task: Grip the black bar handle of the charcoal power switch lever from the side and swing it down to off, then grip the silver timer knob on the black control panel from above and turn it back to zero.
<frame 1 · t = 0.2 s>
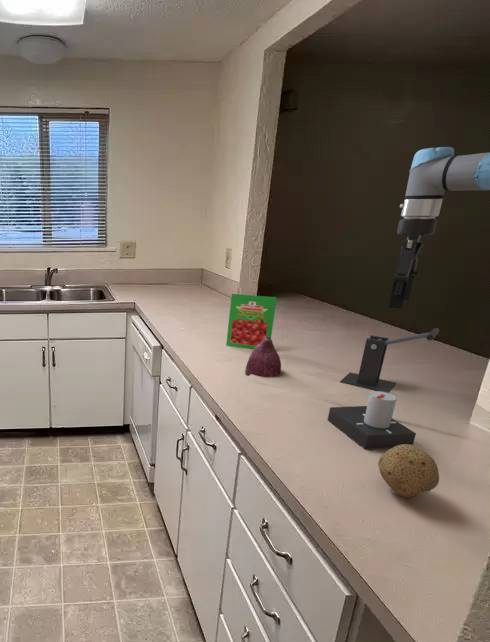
hand: (398, 303, 114), 26 cm above the countertop, tool pointing down, fingers open, 13 cm apart
tomato puree packet: (247, 348, 162), on the countertop
switch lever: (402, 339, 118), point 16 cm above the countertop, hinge at 25.0°
timer knob: (380, 409, 98), point 7 cm above the countertop, hinge at 120.0°
vegetable: (262, 375, 137), on the countertop
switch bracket: (366, 386, 128), on the countertop
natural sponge: (399, 493, 81), on the countertop
timer panel: (367, 432, 102), on the countertop
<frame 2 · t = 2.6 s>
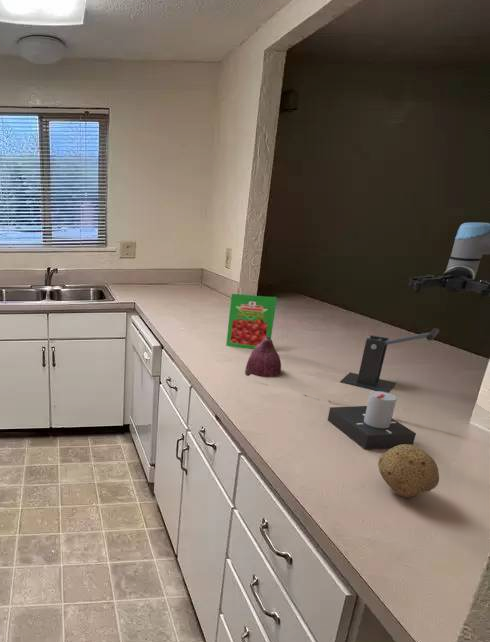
hand: (449, 291, 118), 28 cm above the countertop, tool horizontal, fingers open, 13 cm apart
nothing on the countertop moved.
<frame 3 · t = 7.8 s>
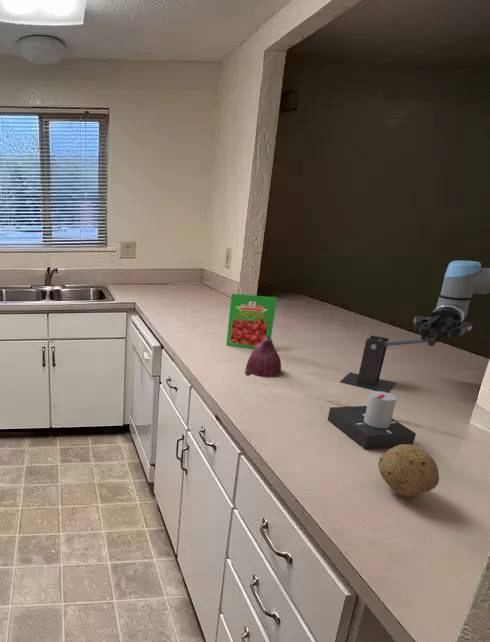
hand: (431, 335, 112), 19 cm above the countertop, tool horizontal, fingers closed on switch lever, 2 cm apart
switch lever: (402, 342, 118), point 15 cm above the countertop, hinge at 18.3°, touching gripper
everything else where it was.
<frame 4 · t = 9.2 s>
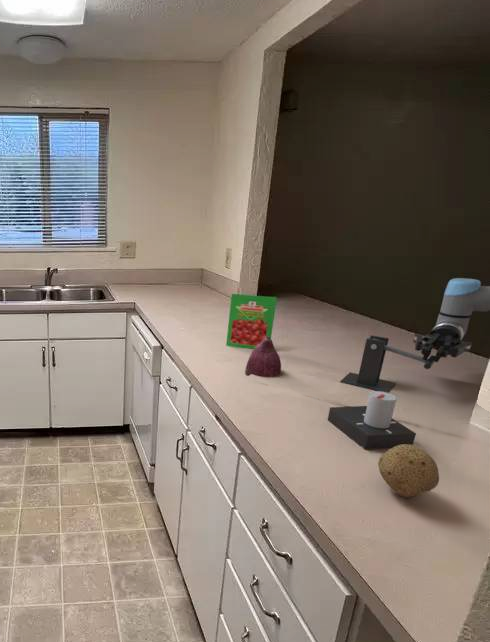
hand: (431, 356, 113), 13 cm above the countertop, tool horizontal, fingers closed
switch lever: (401, 352, 119), point 12 cm above the countertop, hinge at -9.3°, touching gripper
everything else where it was.
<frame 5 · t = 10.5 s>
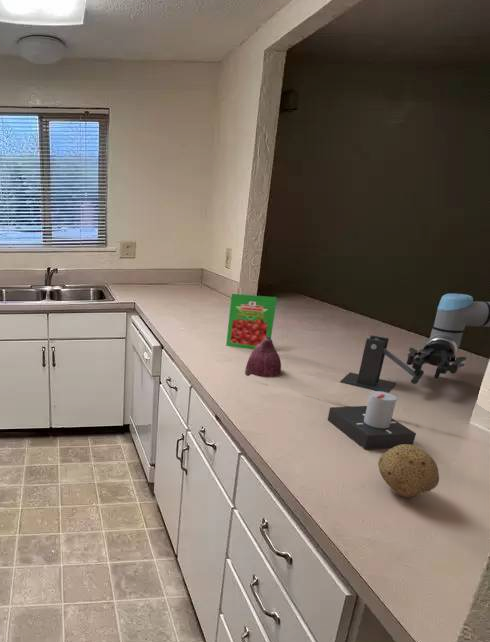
hand: (426, 371, 115), 9 cm above the countertop, tool horizontal, fingers open, 4 cm apart
switch lever: (395, 359, 121), point 10 cm above the countertop, hinge at -31.7°, touching gripper
everything else where it was.
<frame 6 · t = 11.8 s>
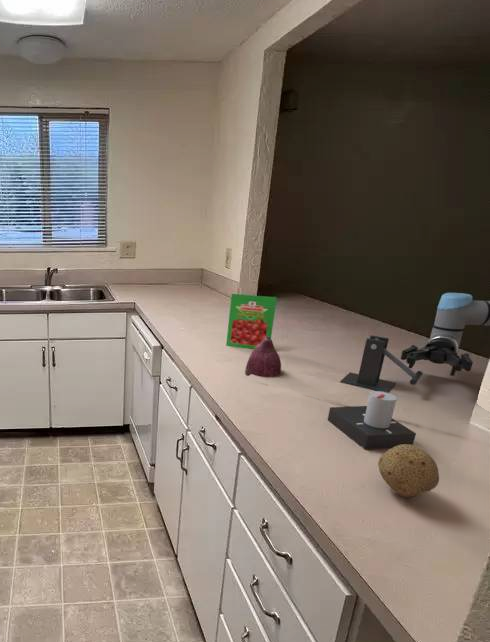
hand: (431, 367, 115), 10 cm above the countertop, tool horizontal, fingers open, 8 cm apart
switch lever: (394, 360, 121), point 10 cm above the countertop, hinge at -33.5°, touching gripper
everything else where it was.
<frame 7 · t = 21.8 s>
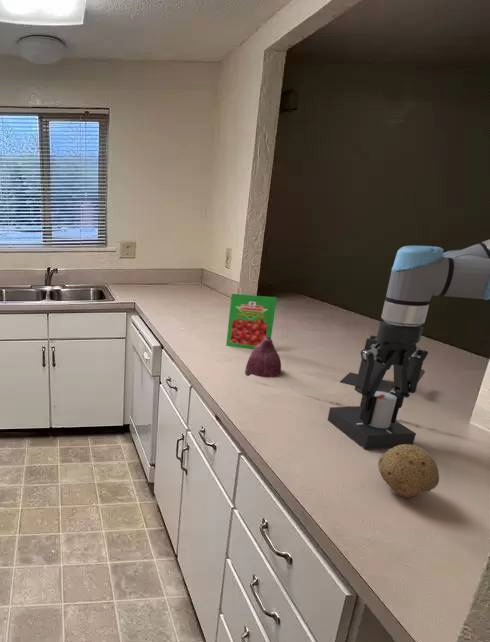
hand: (377, 420, 99), 4 cm above the countertop, tool pointing down, fingers closed on timer knob, 5 cm apart
switch lever: (395, 359, 121), point 10 cm above the countertop, hinge at -30.4°
timer knob: (380, 409, 98), point 7 cm above the countertop, hinge at 120.0°, touching gripper
everything else where it was.
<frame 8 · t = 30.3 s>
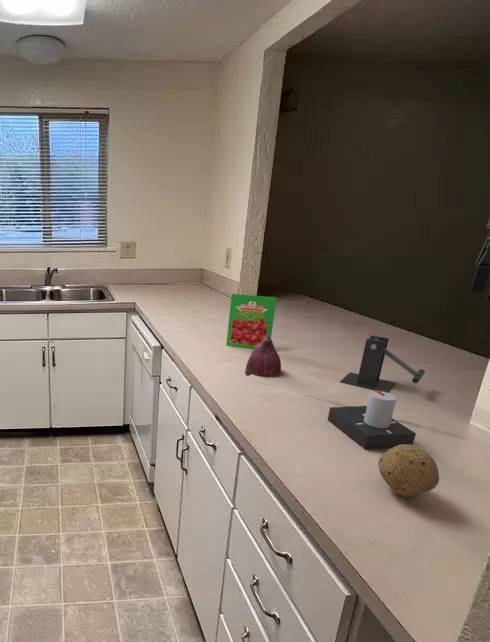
hand: (484, 295, 118), 27 cm above the countertop, tool pointing down, fingers open, 13 cm apart
timer knob: (380, 409, 98), point 7 cm above the countertop, hinge at -0.5°
everything else where it was.
at the end: switch lever at -30° (first picture: +25°); timer knob at +0° (first picture: +120°) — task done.
